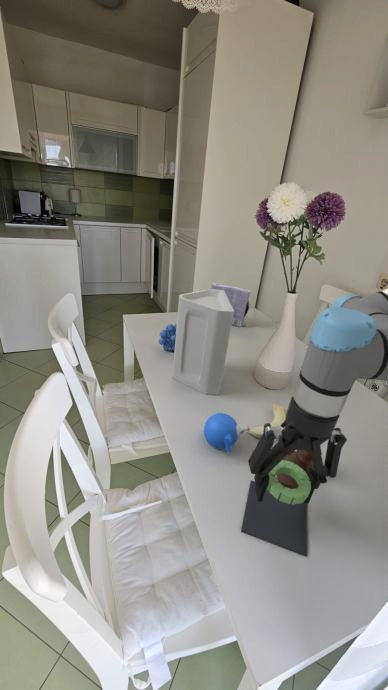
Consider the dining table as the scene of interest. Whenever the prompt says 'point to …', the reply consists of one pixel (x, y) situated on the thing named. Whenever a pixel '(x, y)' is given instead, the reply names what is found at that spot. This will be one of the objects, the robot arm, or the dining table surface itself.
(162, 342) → the grapes
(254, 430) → the fruit
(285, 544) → the mat
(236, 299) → the purple towel
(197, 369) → the white prism box
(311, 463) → the stand
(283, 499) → the ring
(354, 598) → the dining table surface
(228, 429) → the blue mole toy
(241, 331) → the dining table surface
